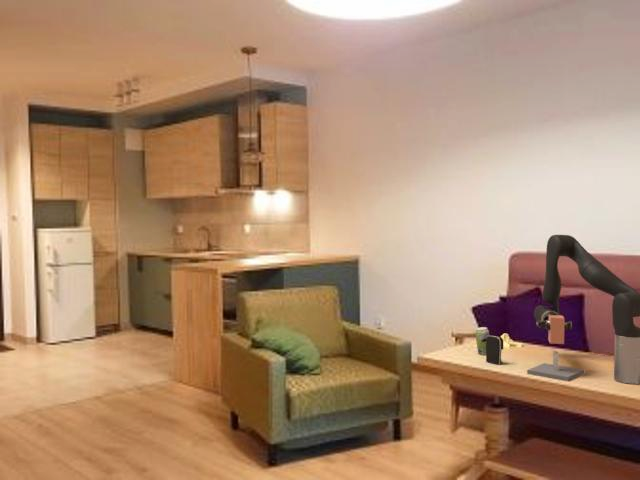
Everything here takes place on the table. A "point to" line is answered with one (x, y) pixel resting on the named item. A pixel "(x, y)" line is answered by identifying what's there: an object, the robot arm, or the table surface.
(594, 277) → the robot arm
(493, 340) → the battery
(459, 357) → the table surface
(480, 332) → the beverage can
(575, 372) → the base plate
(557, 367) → the keyed shaft
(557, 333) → the salmon orange block
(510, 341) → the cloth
